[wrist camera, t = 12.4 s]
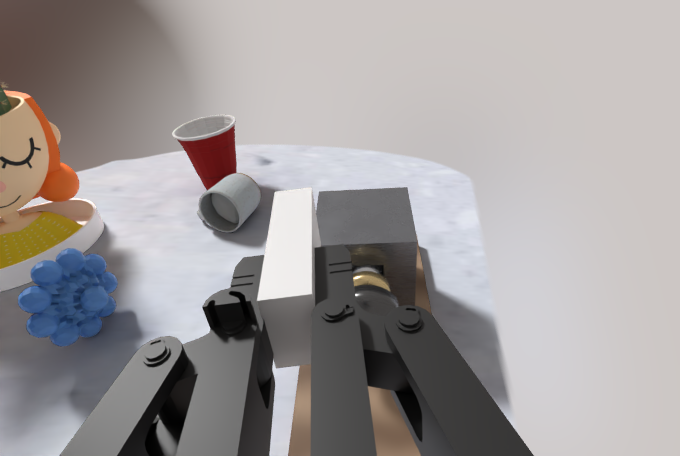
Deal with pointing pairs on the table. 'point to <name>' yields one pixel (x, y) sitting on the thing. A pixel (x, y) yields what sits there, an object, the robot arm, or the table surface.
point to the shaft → (373, 290)
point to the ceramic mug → (229, 202)
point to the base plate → (388, 424)
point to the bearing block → (373, 233)
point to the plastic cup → (210, 146)
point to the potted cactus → (37, 193)
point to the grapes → (68, 297)
